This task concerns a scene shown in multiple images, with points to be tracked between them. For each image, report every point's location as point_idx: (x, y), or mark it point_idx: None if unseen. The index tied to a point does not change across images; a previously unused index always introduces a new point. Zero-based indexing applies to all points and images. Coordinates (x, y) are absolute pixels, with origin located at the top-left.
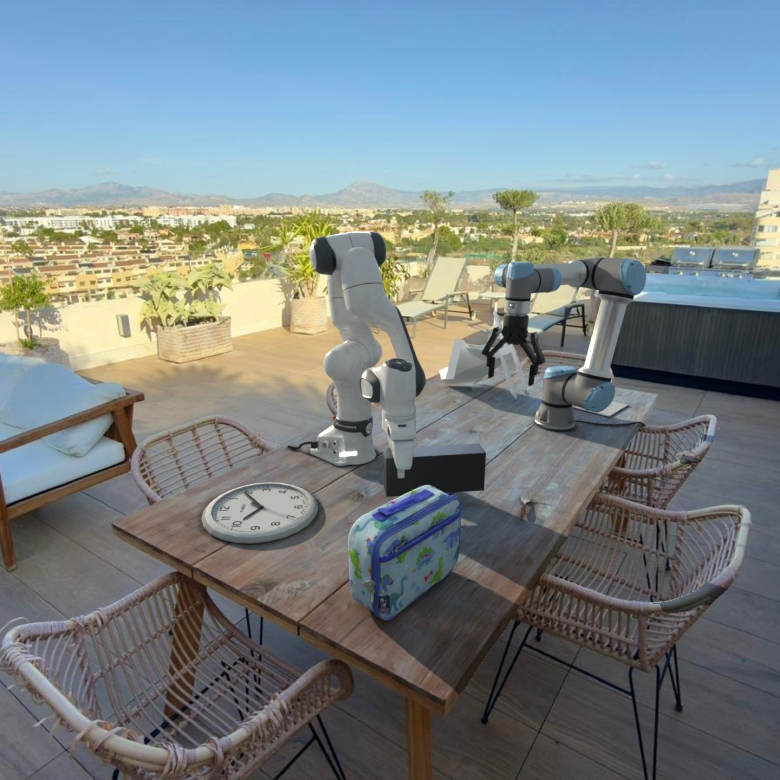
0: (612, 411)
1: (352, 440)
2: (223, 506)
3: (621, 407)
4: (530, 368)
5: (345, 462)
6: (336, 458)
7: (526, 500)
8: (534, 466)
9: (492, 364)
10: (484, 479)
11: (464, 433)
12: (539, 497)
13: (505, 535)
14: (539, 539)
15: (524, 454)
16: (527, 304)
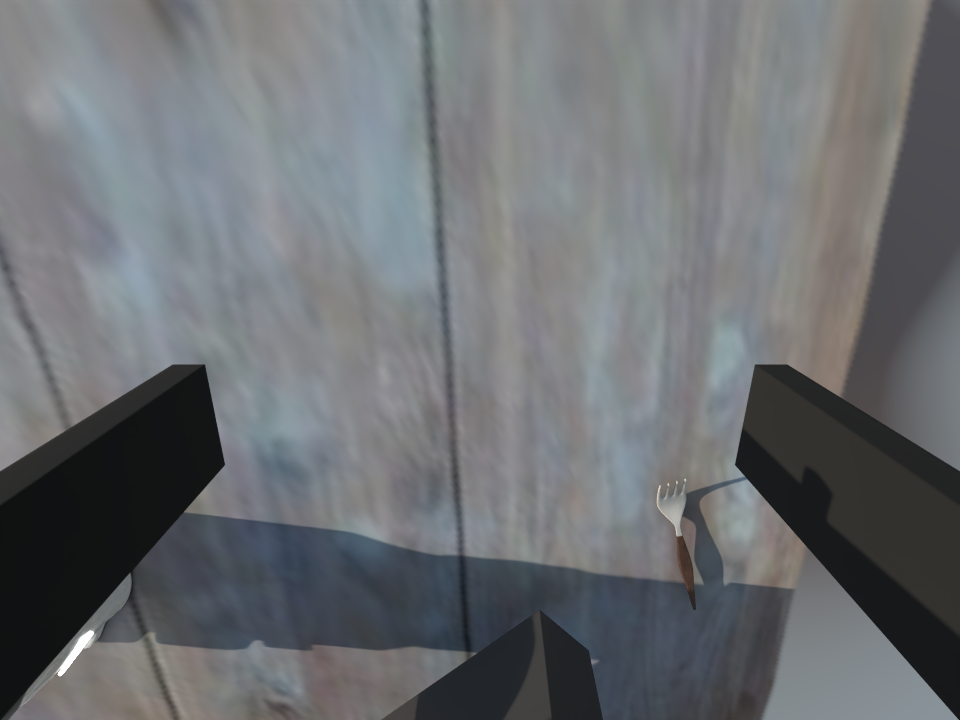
0: None
1: (37, 685)
2: None
3: None
4: (924, 663)
5: (95, 635)
6: None
7: (675, 507)
8: (619, 235)
9: (89, 556)
10: (595, 687)
11: (160, 72)
12: (703, 456)
13: (673, 660)
14: (752, 633)
15: (537, 134)
16: None
